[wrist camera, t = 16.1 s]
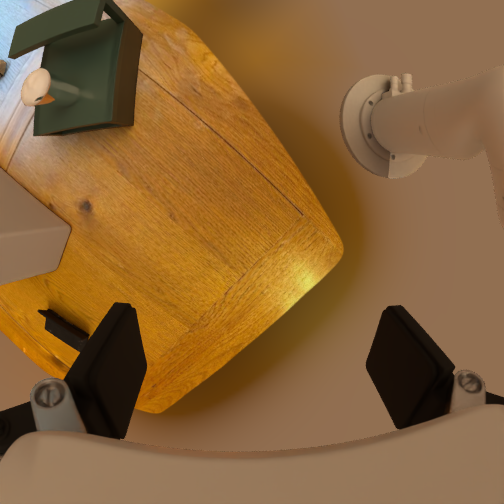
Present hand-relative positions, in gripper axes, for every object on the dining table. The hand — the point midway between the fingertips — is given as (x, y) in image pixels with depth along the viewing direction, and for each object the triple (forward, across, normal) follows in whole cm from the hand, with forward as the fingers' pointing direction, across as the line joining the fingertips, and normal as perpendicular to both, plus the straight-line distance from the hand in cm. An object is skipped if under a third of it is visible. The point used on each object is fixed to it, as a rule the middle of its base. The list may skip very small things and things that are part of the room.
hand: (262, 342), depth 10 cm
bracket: (+34, +48, -2) cm, 59 cm away
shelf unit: (+33, +24, -19) cm, 45 cm away
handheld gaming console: (+34, +36, +26) cm, 56 cm away
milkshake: (+26, +24, -16) cm, 38 cm away
